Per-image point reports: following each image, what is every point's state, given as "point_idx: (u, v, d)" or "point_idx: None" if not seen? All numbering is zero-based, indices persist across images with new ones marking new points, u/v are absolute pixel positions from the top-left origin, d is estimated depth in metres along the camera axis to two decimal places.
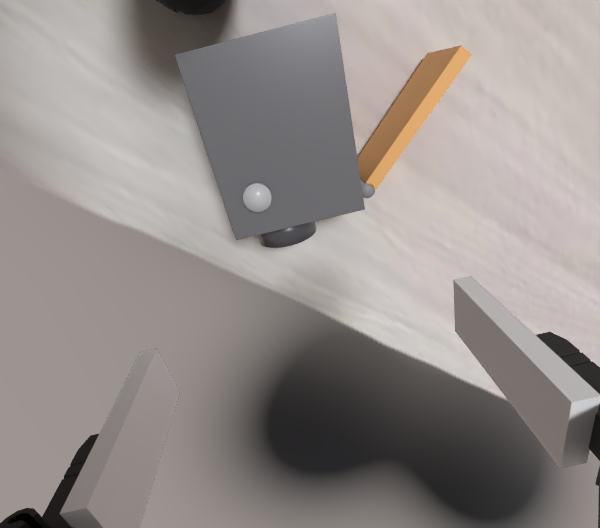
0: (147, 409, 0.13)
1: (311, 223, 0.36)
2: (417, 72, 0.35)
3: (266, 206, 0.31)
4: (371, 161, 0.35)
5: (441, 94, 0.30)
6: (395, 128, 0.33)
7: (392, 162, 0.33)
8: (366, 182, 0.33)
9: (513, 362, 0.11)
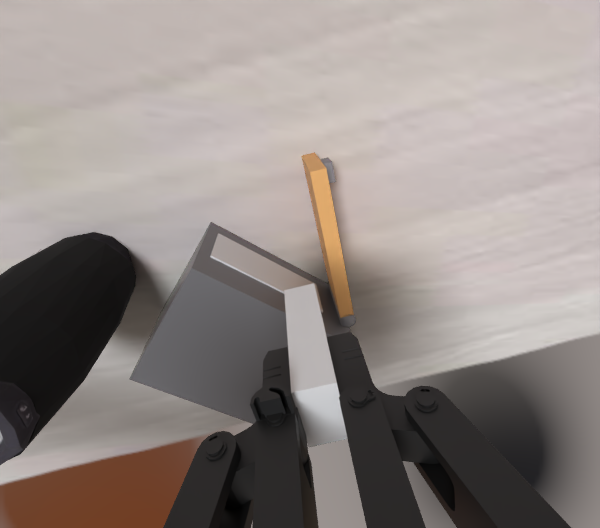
0: None
1: None
2: (307, 179, 0.32)
3: None
4: (332, 288, 0.32)
5: (333, 214, 0.27)
6: (325, 254, 0.31)
7: (346, 288, 0.30)
8: (340, 316, 0.31)
9: None
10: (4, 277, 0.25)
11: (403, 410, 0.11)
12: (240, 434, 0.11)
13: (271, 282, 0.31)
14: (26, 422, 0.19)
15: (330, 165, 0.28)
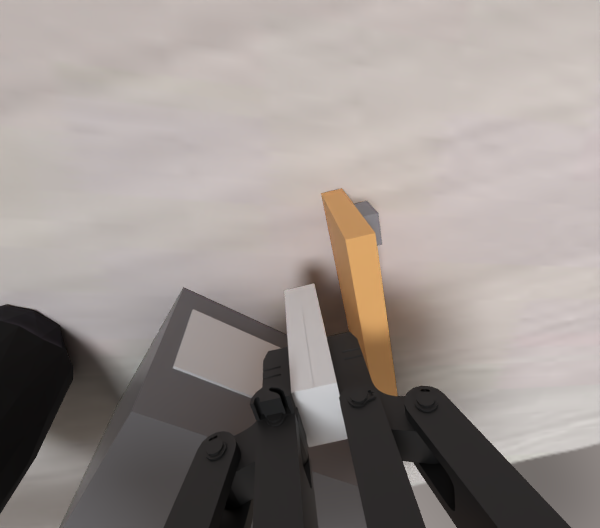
0: None
1: None
2: (329, 230, 0.20)
3: None
4: None
5: (382, 307, 0.16)
6: None
7: None
8: None
9: None
10: None
11: (403, 410, 0.11)
12: (240, 434, 0.11)
13: None
14: None
15: (375, 218, 0.16)
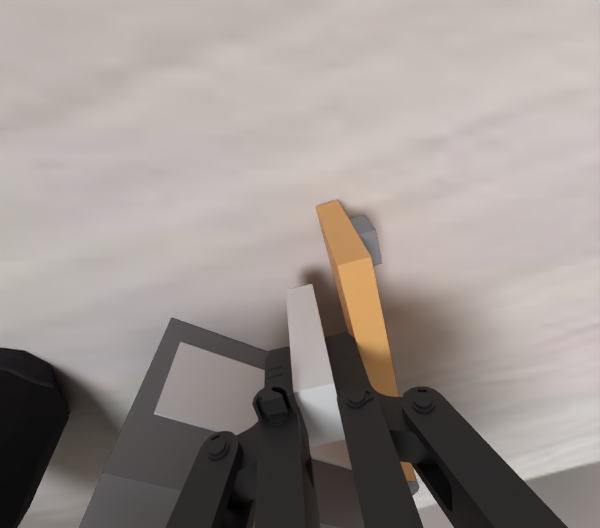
0: None
1: None
2: (326, 246, 0.19)
3: None
4: None
5: (383, 337, 0.14)
6: None
7: None
8: None
9: None
10: None
11: (400, 411, 0.11)
12: (242, 433, 0.11)
13: None
14: None
15: (372, 236, 0.15)
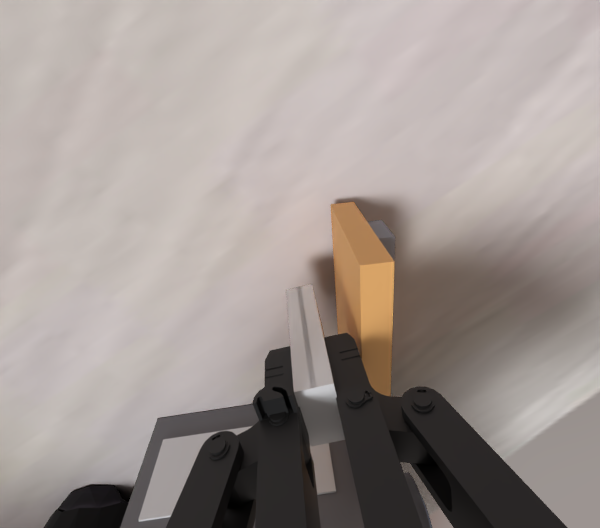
0: None
1: None
2: (335, 245, 0.19)
3: None
4: None
5: (388, 343, 0.14)
6: None
7: None
8: None
9: None
10: None
11: (400, 411, 0.11)
12: (243, 433, 0.11)
13: None
14: None
15: (390, 242, 0.15)
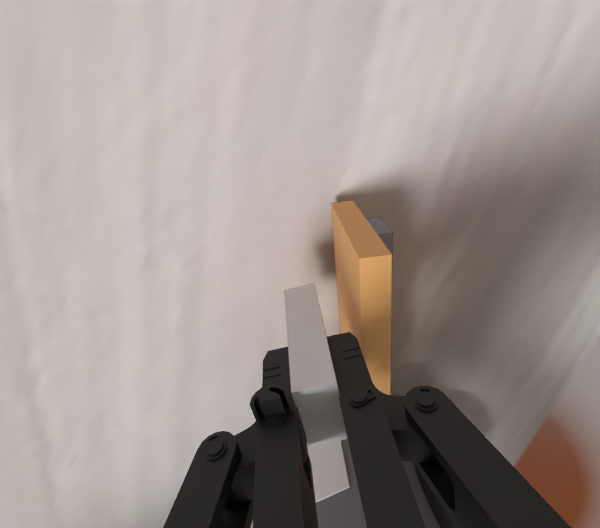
0: None
1: None
2: (335, 242, 0.19)
3: None
4: None
5: (387, 333, 0.15)
6: None
7: None
8: None
9: None
10: None
11: (403, 410, 0.11)
12: (240, 434, 0.11)
13: None
14: None
15: (388, 237, 0.15)
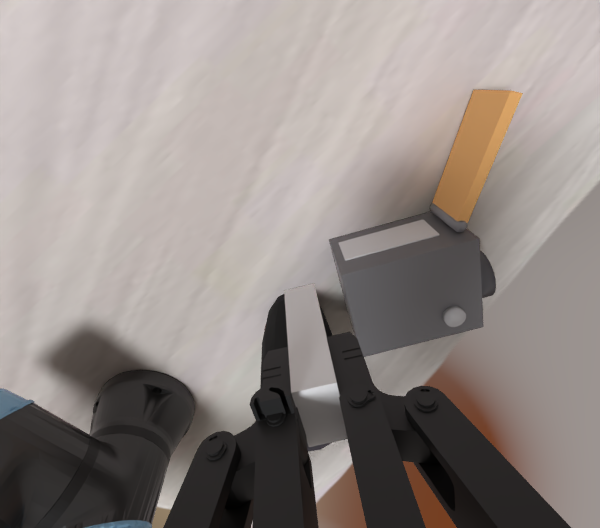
0: None
1: None
2: (470, 109, 0.39)
3: (462, 312, 0.41)
4: (454, 199, 0.40)
5: (504, 132, 0.35)
6: (468, 168, 0.38)
7: (476, 198, 0.38)
8: (457, 220, 0.39)
9: None
10: (265, 348, 0.43)
11: (403, 410, 0.11)
12: (240, 434, 0.11)
13: (391, 244, 0.41)
14: None
15: None
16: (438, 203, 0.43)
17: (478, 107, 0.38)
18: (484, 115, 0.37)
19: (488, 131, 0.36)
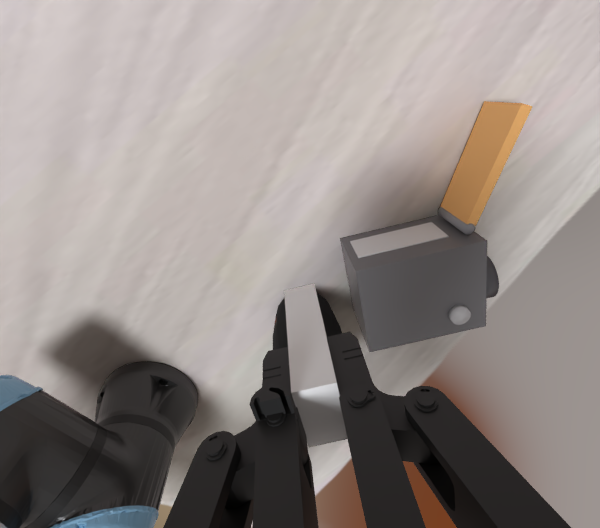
0: None
1: None
2: (480, 119, 0.42)
3: (468, 311, 0.43)
4: (463, 203, 0.42)
5: (514, 142, 0.37)
6: (478, 174, 0.40)
7: (484, 202, 0.40)
8: (466, 223, 0.41)
9: None
10: (278, 341, 0.44)
11: (403, 410, 0.11)
12: (240, 434, 0.11)
13: (402, 244, 0.43)
14: None
15: None
16: (446, 207, 0.46)
17: (489, 118, 0.40)
18: (495, 125, 0.39)
19: (499, 140, 0.38)
